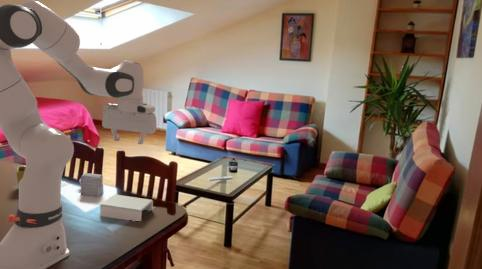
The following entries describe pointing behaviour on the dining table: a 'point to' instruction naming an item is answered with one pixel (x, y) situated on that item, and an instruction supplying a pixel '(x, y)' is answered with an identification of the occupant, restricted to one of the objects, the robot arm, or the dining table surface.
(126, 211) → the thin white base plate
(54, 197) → the robot arm
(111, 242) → the dining table surface
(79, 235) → the dining table surface
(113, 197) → the lid
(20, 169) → the flower pot
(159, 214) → the dining table surface
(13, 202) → the dining table surface
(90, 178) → the medicine box
